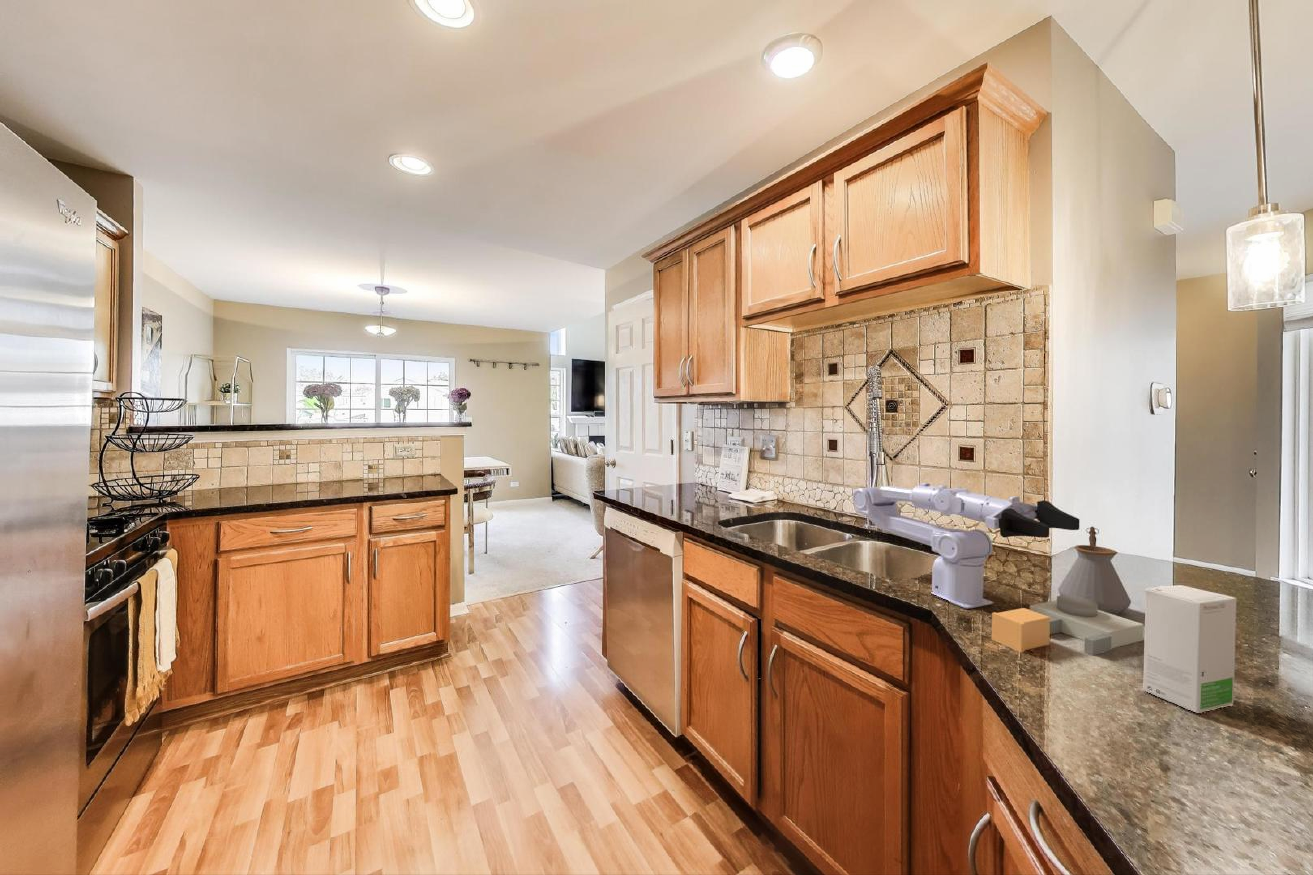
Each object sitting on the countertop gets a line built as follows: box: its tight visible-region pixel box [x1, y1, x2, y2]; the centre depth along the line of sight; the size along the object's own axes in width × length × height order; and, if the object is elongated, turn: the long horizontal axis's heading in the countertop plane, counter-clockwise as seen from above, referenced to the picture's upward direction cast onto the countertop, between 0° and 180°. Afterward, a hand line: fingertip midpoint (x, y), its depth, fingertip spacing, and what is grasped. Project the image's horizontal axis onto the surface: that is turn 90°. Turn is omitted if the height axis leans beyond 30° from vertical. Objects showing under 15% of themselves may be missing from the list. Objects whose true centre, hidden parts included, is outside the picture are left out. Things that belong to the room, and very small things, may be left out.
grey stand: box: [1029, 594, 1144, 656], centre depth 91 cm, size 13×15×5 cm
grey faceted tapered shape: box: [1057, 526, 1132, 616], centre depth 106 cm, size 21×12×15 cm, turn 139°
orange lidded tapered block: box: [991, 607, 1050, 653], centre depth 87 cm, size 5×8×5 cm
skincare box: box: [1142, 584, 1237, 714], centre depth 69 cm, size 8×7×16 cm
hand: (1063, 528), depth 87 cm, fingers open, 7 cm apart
